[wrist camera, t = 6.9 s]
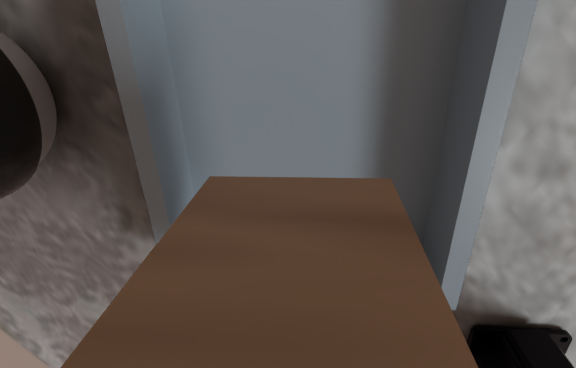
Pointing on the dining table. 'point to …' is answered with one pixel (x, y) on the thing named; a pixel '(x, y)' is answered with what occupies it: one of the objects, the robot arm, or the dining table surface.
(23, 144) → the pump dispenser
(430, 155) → the tray
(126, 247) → the dining table surface
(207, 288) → the walnut box
